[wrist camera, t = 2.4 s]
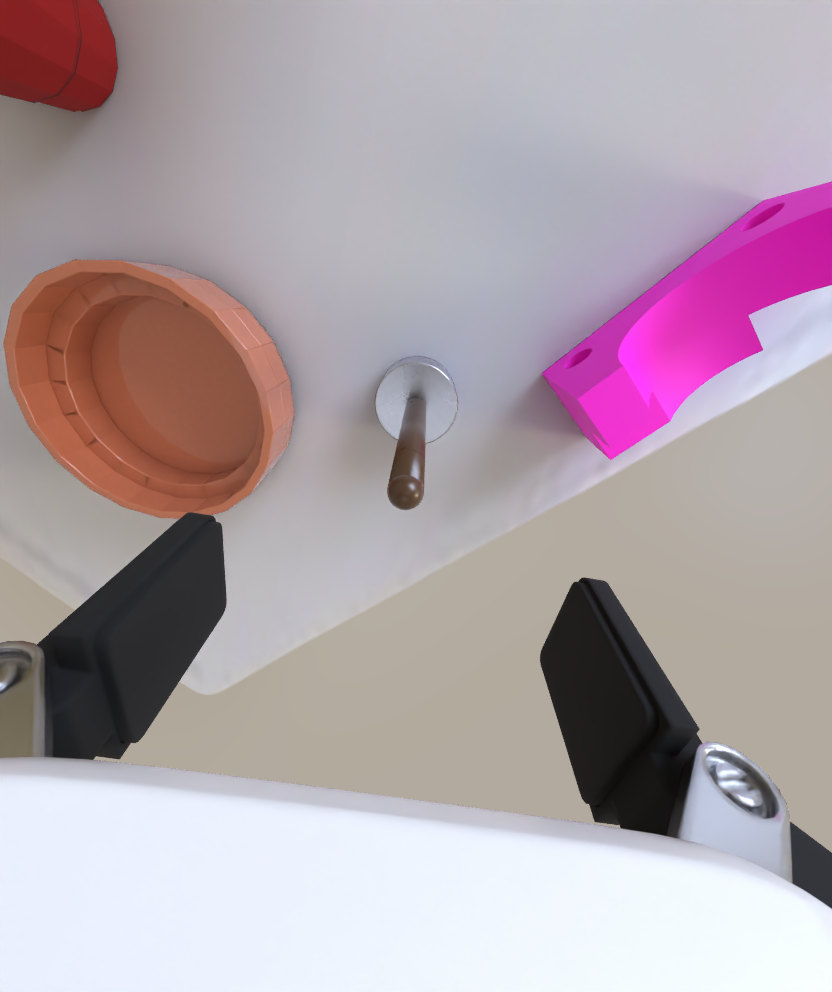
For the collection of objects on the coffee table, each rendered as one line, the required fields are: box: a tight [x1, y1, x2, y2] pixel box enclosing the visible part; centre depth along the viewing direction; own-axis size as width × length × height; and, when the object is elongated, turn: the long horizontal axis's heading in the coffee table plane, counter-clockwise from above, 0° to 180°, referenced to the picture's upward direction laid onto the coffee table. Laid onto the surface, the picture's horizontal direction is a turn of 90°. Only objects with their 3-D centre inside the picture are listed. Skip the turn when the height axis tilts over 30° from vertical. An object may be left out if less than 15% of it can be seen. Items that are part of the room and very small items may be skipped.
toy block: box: [542, 182, 832, 460], centre depth 23 cm, size 15×6×8 cm, turn 131°
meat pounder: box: [375, 356, 458, 510], centre depth 21 cm, size 6×6×16 cm
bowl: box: [4, 259, 294, 519], centre depth 27 cm, size 16×16×5 cm
